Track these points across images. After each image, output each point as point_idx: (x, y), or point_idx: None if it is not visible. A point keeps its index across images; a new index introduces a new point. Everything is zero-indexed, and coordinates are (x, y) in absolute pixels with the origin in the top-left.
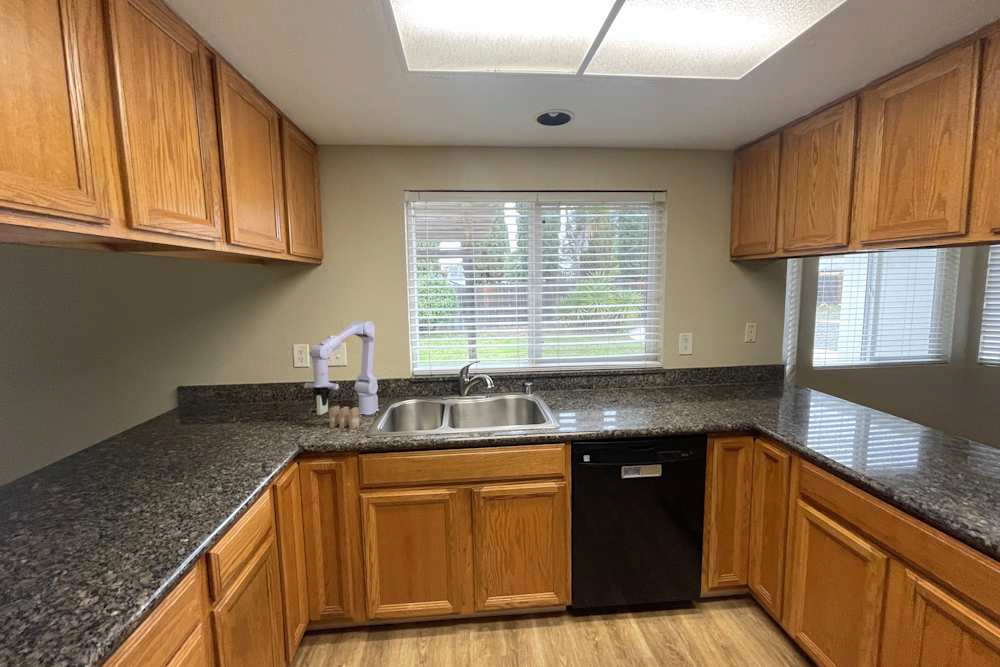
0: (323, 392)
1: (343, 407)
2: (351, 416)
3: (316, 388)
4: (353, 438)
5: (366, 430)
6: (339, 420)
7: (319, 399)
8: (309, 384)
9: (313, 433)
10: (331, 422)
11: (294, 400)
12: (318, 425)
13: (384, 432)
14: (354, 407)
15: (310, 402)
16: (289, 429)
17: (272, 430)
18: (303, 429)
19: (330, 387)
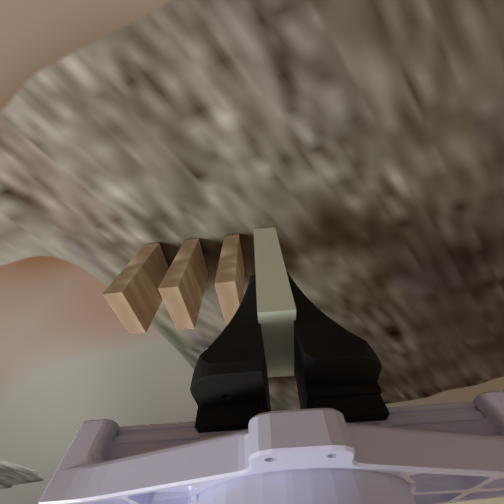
0: (213, 352)
1: (189, 316)
2: (124, 273)
3: (342, 400)
4: (41, 157)
5: (94, 249)
6: (191, 254)
7: (262, 287)
8: (486, 460)
9: (253, 154)
10: (230, 244)
11: (493, 375)
12: (299, 240)
13: (20, 252)
14: (142, 328)
15: (439, 374)
16: (392, 164)
17: (471, 123)
18: (329, 184)
19: (168, 441)
